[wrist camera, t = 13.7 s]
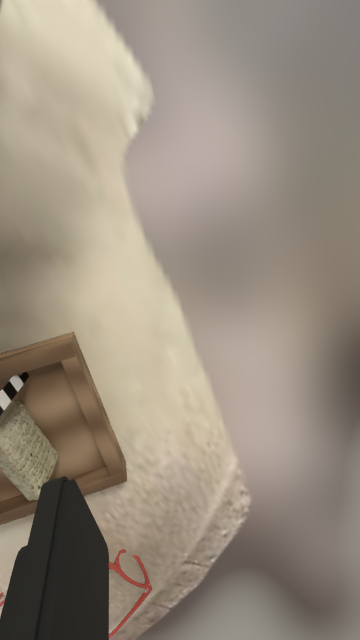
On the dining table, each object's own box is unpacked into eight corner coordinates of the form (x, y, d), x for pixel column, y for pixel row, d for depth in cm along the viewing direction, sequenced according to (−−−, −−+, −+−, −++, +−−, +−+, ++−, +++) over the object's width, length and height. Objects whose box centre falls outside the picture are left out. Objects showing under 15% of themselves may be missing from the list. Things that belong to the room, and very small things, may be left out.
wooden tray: (-88, 380, 35) (-106, 397, 32) (73, 332, 37) (70, 343, 34) (-7, 506, 42) (-15, 530, 39) (125, 461, 44) (126, 481, 41)
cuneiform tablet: (22, 365, 36) (78, 446, 40) (-14, 379, 36) (46, 457, 41) (-14, 409, 29) (59, 499, 33) (-57, 425, 30) (20, 511, 34)
